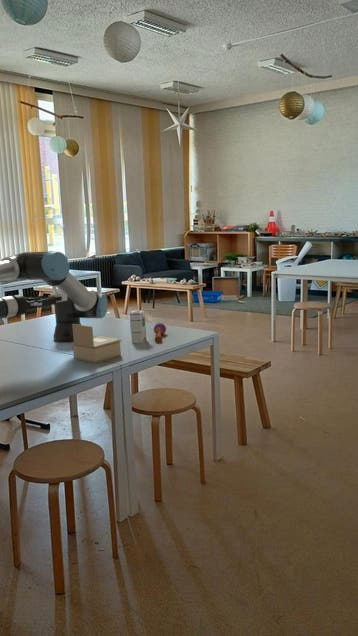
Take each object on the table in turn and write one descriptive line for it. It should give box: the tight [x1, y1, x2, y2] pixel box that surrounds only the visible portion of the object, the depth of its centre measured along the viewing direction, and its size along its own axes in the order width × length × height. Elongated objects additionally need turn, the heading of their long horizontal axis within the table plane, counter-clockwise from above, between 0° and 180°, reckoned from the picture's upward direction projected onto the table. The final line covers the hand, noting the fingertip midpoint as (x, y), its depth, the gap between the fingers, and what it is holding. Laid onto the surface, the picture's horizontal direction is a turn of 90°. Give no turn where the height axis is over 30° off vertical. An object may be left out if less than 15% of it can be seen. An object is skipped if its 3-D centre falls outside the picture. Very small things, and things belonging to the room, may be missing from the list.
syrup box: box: [128, 309, 147, 344], centre depth 266 cm, size 6×6×14 cm
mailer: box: [72, 341, 122, 364], centre depth 241 cm, size 14×14×6 cm
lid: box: [71, 324, 122, 349], centre depth 240 cm, size 15×15×9 cm
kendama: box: [153, 322, 167, 344], centre depth 273 cm, size 6×6×20 cm
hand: (64, 296), depth 226 cm, fingers closed
